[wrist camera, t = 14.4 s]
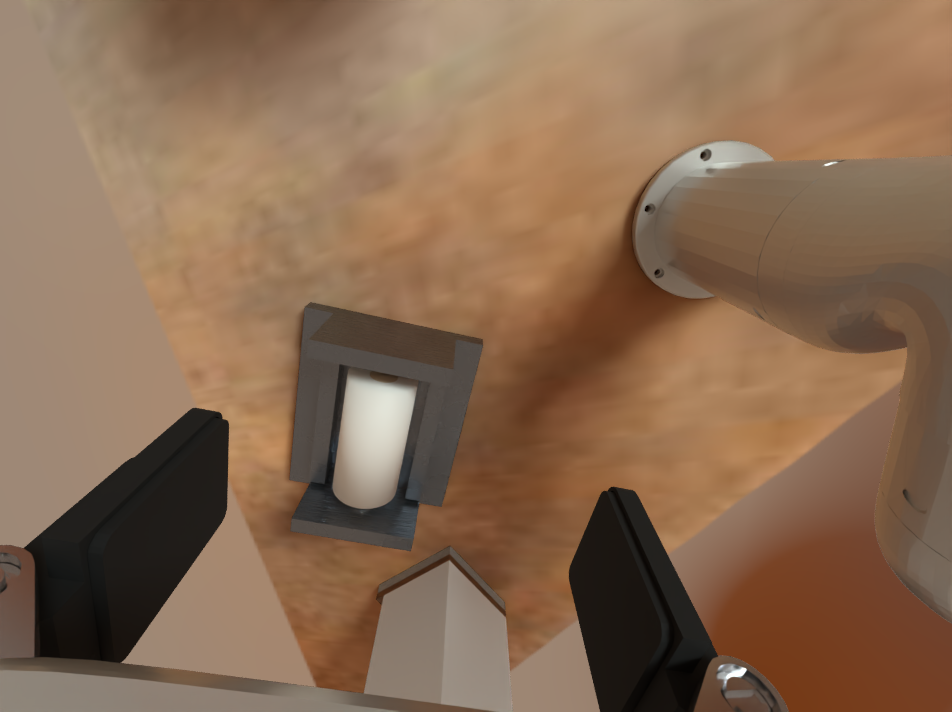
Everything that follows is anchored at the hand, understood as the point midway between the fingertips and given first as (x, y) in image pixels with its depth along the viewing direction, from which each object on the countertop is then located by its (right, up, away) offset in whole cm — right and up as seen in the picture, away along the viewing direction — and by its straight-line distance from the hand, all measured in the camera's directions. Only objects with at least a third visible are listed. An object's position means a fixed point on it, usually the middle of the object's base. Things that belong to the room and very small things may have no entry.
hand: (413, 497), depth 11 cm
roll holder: (-8, -2, +34) cm, 34 cm away
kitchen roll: (-8, -4, +29) cm, 31 cm away
